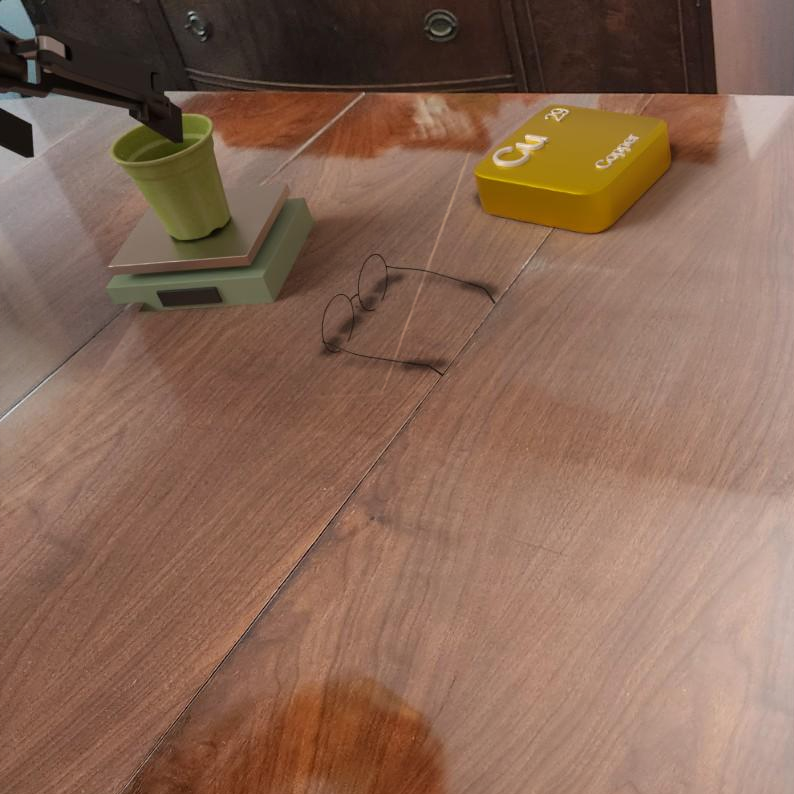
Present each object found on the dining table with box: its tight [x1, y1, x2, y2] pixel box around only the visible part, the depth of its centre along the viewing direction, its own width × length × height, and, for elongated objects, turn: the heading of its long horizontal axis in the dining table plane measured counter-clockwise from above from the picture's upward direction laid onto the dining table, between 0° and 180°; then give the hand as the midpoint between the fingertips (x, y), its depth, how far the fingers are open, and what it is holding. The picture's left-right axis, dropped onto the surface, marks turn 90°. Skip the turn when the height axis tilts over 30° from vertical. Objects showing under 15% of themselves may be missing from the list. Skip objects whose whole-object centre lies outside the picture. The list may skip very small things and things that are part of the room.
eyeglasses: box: [321, 253, 497, 377], centre depth 97 cm, size 11×13×5 cm
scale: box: [105, 197, 315, 313], centre depth 109 cm, size 16×14×4 cm
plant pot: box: [109, 113, 230, 240], centre depth 104 cm, size 9×9×9 cm
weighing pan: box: [107, 182, 291, 277], centre depth 108 cm, size 14×13×1 cm
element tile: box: [472, 103, 672, 234], centre depth 110 cm, size 15×15×5 cm
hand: (103, 134), depth 93 cm, fingers open, 13 cm apart
